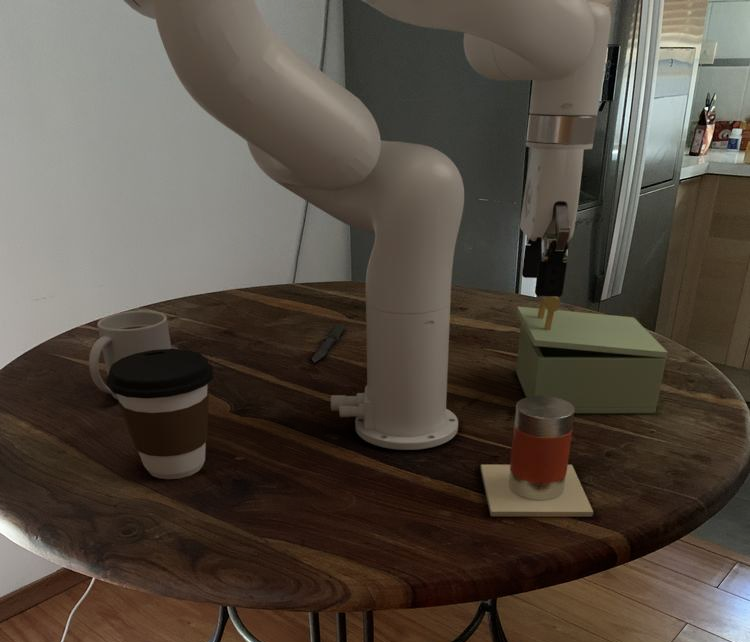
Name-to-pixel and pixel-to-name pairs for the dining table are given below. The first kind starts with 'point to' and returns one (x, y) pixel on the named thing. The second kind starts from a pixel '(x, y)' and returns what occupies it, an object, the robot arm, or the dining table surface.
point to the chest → (590, 378)
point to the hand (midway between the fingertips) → (540, 286)
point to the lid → (586, 331)
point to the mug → (127, 339)
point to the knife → (329, 341)
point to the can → (540, 447)
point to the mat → (514, 505)
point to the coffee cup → (165, 408)
